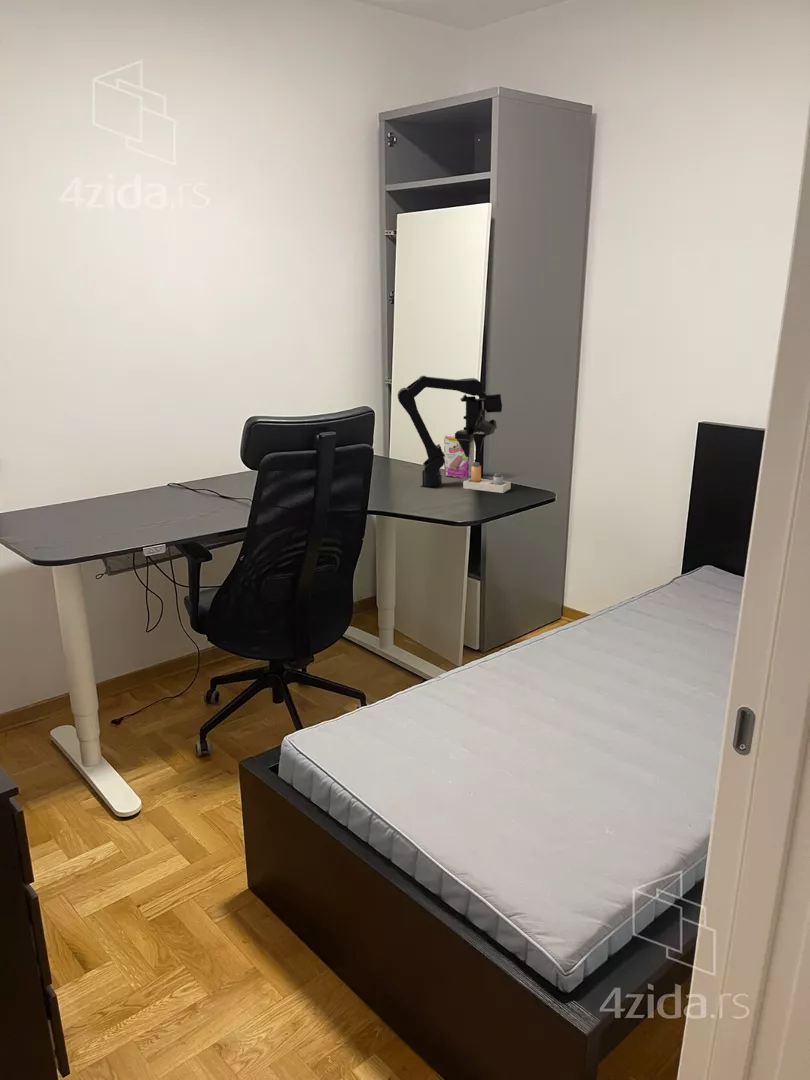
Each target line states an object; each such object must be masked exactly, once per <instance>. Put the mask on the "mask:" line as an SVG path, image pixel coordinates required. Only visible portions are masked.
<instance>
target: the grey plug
mask: <svg viewBox="0 0 810 1080" xmlns="http://www.w3.org/2000/svg"><path fill="white" fill-rule="evenodd" d="M492 480H493V484H494V485H503V481H504V476H503V475H502V473H501V472H496V473H494V475H493V477H492Z"/></svg>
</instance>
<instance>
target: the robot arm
mask: <svg viewBox="0 0 810 1080" xmlns="http://www.w3.org/2000/svg"><path fill="white" fill-rule="evenodd" d="M425 388H429V389H430V388H431V389H437V390H438V389H439V390H448V391H449V390H450V391H456V392H460V393H463V396H462V397H461V398H459V399H460V401H461V402H463V403H464V402H465V415H463V420H465V426H464V427H463V429H460V430H457V431H456V432H455V433H454V435H455V439H457V441H458V442H459V444H460V445H461V447H462V449H463V451H464V454H465V456H466V457H469V454H470V445H471V442H472V441H473V440H474V447H475V449H476V452H477V453H481V451H482V447H483V444H484V441H485V438H487V436H490V435H493V434H494V433H495V430H496V429H497V428H498V427H497V426H498V425H497V422H496V421H497V420H496V419H490V420H485V417H484V415H482V411H485V413H486V414H490V413H491V414H492V413H496V414H497V413H499V414H500V413H502V410H503V403H502V398H501V397H502V395H501V393H495V394H487V393H486V392H485V391H484V390H483V385H482V383H481V381H480V380H478V379H477V378H474V377H468V378H460V379H452V378H443V377H434V376H426V375H421V376H419V377H418V378H417V379H416V380H414V381H413V382H412V383H409V385H408V386H406V387H401V388H400V389H399V390H398V393H397V401H398V402H399V404H400V405H401V407H403V409H404V410H405V412H406V413H407V414H408V415H409V417H410V420H411V421H412V423H413V426H414V428H415V429H416V432H417V434H418V435H419V437H420V440H421V442H422V444H423V445H424V448H425V451H426V455H427V459H426V460H425V461H424V462H423V463H422V465H423V470H421V471H422V474H421V475H422V478H421V479H422V484H421V485H420V488H427V489H437V488H440V487H442V486H443V483H442V481H443V480H442V478H443V477H442V474H441V468H442V467H443V466H444V463H445V459H444V457H445V454H444V451H443V450H442V447H441V445H440V443H439V444H436V443H435V442H434V441H433V438H432V437H431V435H430V432H429V431H428V428H427V426H426V424H425V423H424V420H423V419H422V416H421V413H420V412H419V411H418V407H417V403H416V399H415V398H416V397H417V396H418V395H419V394H420V393H421V392H422V391H423V390H425ZM468 395H470V396H468ZM476 396H477V397H479V398H476ZM473 438H474V439H473Z"/></svg>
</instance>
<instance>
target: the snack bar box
mask: <svg viewBox="0 0 810 1080" xmlns="http://www.w3.org/2000/svg"><path fill="white" fill-rule="evenodd" d="M443 437H444V438H443V439H444V440H443V441H444V442H443V443H444V444H443V445H444V451H443V452H444V454H445V457H444V459H445V463H444V465H443V466H444V470H443V471H444V474H443V475H450V476H456V477H463V478H462V479H464V478H471V466H472V465H473V462H475V442H474V440H473V441H472V442H471V445H470V454H469V457H466V456H465V454H464V451H463V449H462V447H461V445H460V444H459V442H458V441H457V439H455V434H448V435H445V436H443ZM473 439H474V438H473Z"/></svg>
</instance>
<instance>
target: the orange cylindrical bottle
mask: <svg viewBox="0 0 810 1080" xmlns="http://www.w3.org/2000/svg"><path fill="white" fill-rule="evenodd" d="M470 478H471V482H477V483H479V482H481V479H482V465H480V462H478V461H474V462H473V465H472V466H471V476H470Z"/></svg>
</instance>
